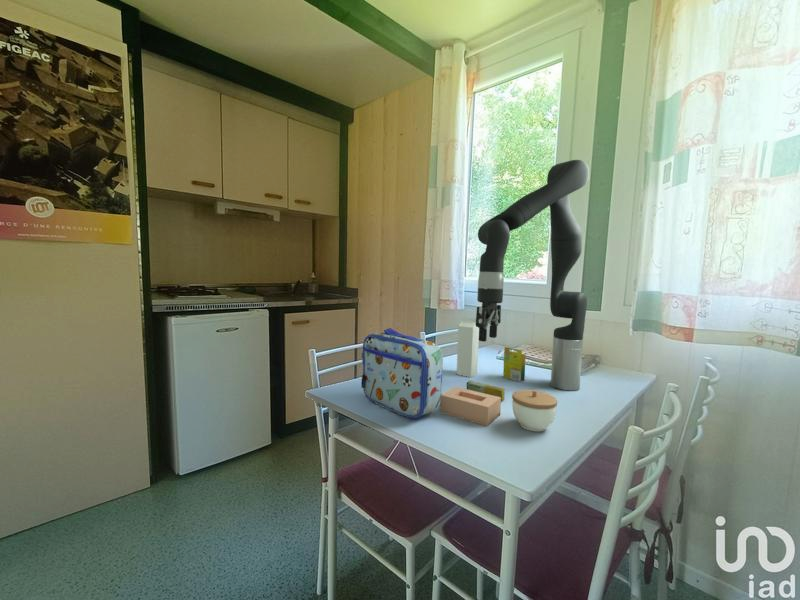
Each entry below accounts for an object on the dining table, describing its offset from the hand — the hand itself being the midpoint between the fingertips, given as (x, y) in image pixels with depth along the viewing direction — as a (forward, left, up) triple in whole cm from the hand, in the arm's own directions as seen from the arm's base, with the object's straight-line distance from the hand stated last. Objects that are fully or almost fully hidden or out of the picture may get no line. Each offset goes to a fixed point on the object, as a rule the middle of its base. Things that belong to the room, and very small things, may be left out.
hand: (487, 339), depth 109 cm
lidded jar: (+12, +18, -19) cm, 28 cm away
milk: (-19, -15, -19) cm, 31 cm away
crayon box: (-25, +1, -19) cm, 32 cm away
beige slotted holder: (+15, +2, -19) cm, 24 cm away
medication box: (-1, 0, -19) cm, 19 cm away
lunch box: (+23, -17, -19) cm, 35 cm away
